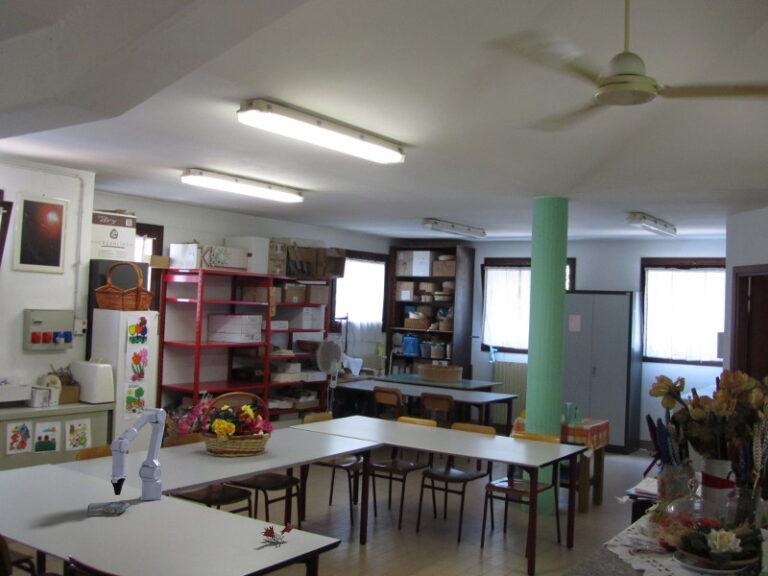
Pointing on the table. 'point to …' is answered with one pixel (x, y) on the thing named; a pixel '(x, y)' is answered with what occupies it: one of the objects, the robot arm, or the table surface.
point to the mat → (98, 509)
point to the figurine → (276, 535)
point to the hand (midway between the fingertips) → (117, 494)
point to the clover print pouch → (116, 507)
